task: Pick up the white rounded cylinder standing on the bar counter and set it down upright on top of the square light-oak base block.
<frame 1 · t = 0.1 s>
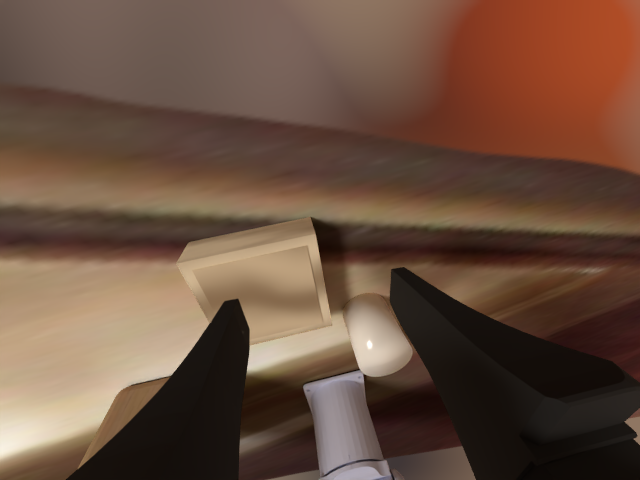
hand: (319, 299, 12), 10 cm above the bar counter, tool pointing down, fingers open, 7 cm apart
white rounded cylinder: (364, 310, 27), on the bar counter
base: (266, 276, 23), on the bar counter
wooden block: (184, 396, 30), on the bar counter
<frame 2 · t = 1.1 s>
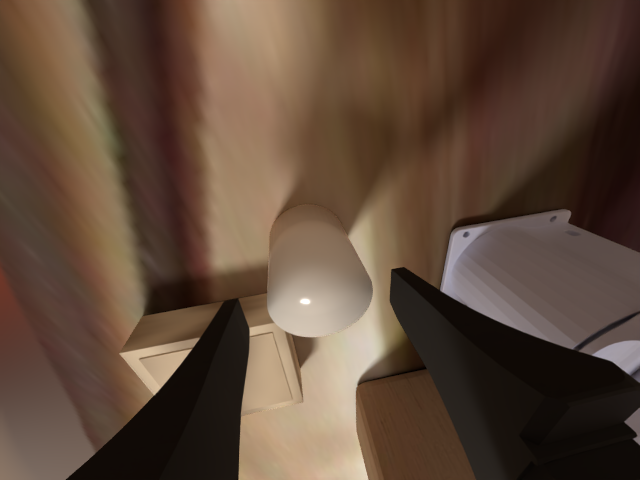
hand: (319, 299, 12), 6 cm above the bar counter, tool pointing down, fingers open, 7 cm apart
white rounded cylinder: (307, 238, 17), on the bar counter
base: (232, 346, 20), on the bar counter
wooden block: (394, 393, 29), on the bar counter
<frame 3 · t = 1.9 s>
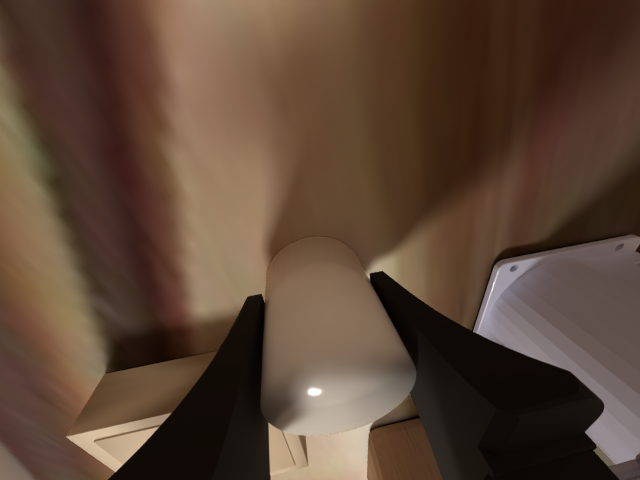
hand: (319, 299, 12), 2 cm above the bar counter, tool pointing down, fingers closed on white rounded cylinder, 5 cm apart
white rounded cylinder: (314, 278, 13), on the bar counter, touching gripper
base: (221, 400, 17), on the bar counter
wooden block: (410, 435, 25), on the bar counter
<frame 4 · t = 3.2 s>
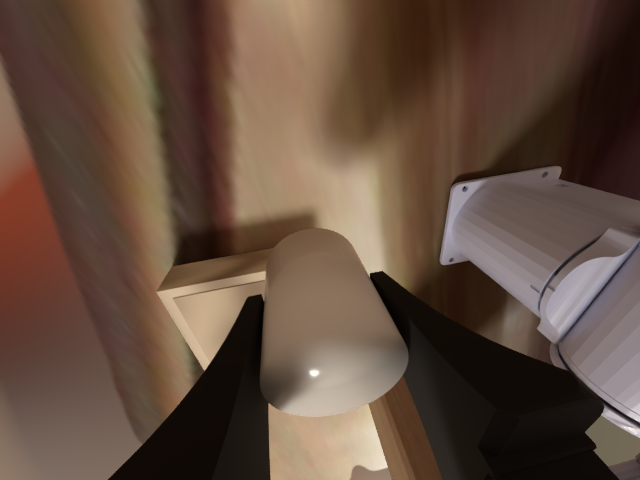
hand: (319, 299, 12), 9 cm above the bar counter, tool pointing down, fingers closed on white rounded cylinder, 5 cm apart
white rounded cylinder: (312, 269, 13), point 7 cm above the bar counter, touching gripper
base: (251, 299, 22), on the bar counter
wooden block: (399, 355, 31), on the bar counter
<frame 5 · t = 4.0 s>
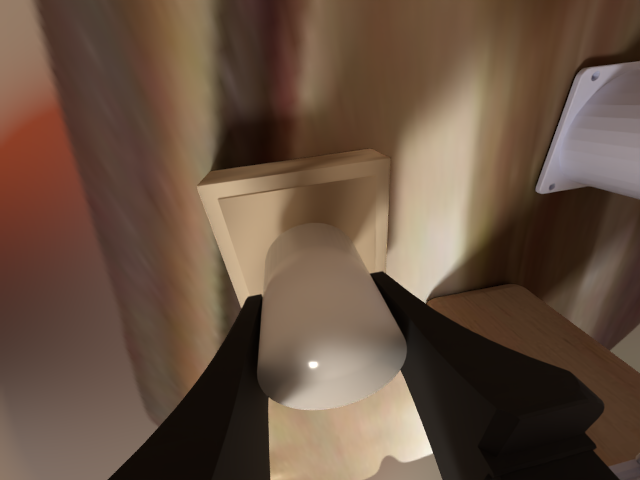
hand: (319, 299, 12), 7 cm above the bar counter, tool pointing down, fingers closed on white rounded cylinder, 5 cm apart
white rounded cylinder: (312, 264, 13), point 5 cm above the bar counter, touching gripper
base: (304, 230, 18), on the bar counter
wooden block: (459, 320, 26), on the bar counter
when the fingers open (6 cm above the bar counter, at t = 4.7 s): white rounded cylinder stays where it is, resting on base.
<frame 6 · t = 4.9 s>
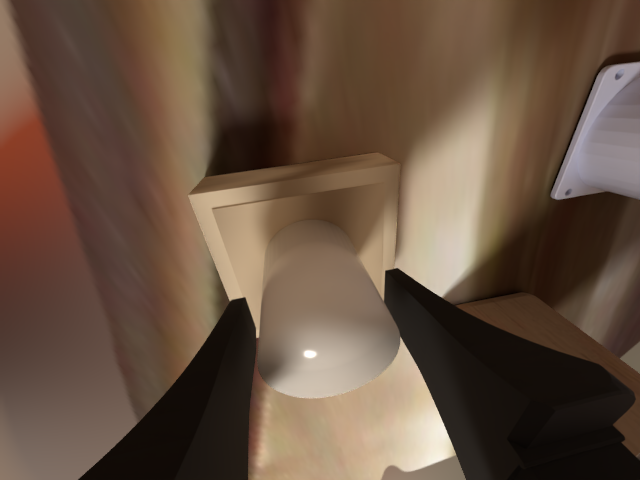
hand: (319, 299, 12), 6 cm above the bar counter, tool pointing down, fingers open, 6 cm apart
white rounded cylinder: (309, 260, 14), point 3 cm above the bar counter, touching base
base: (305, 239, 16), on the bar counter
wooden block: (467, 330, 25), on the bar counter
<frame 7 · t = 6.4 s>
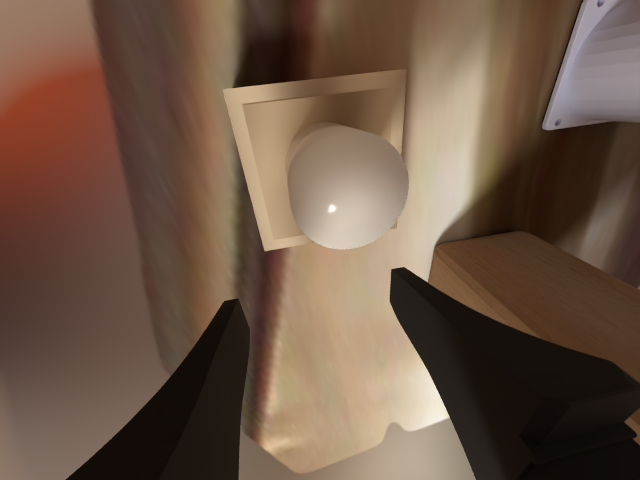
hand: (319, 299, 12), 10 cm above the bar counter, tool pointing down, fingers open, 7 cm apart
white rounded cylinder: (325, 166, 15), point 3 cm above the bar counter, touching base
base: (318, 161, 18), on the bar counter
wooden block: (466, 272, 27), on the bar counter
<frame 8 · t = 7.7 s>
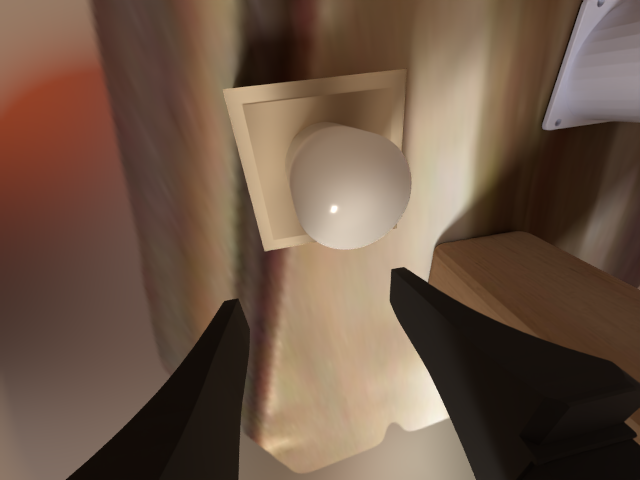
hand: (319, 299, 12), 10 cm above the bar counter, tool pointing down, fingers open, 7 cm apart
white rounded cylinder: (325, 166, 15), point 3 cm above the bar counter, touching base
base: (318, 161, 18), on the bar counter
wooden block: (466, 272, 27), on the bar counter
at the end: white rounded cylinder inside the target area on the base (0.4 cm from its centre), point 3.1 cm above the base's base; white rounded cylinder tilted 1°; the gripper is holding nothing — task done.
